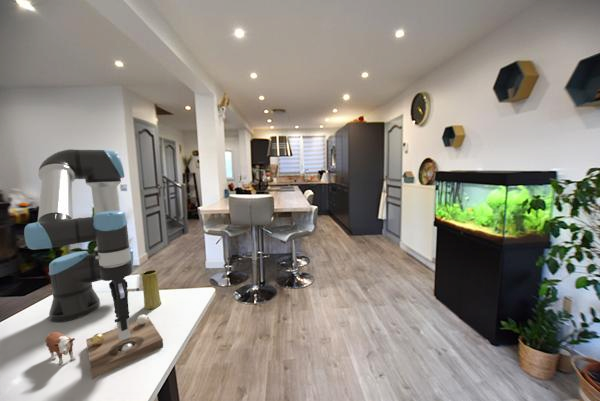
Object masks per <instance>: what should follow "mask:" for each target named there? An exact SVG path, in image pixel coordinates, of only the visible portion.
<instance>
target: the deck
mask: <svg viewBox="0 0 600 401" xmlns="http://www.w3.org/2000/svg"><path fill="white" fill-rule="evenodd" d="M129 328H130V336H131V337H130V338H127V339H125V340H122V341H119V335H118V327H115V328H113V329H111V330H108V331H105V332H103V333H101V334H103V335H104V341H103V342H102V343H101V344H100V345H97V346H94V345H92V344H91V339H92V337H89V338H86V341H85V342H86V348H87V354H88V361H89V368H90V373H91V379H92V380H94V379H97V378H99V377H100V376H103V375H104V374H107V373H109V372H112V371H114V370H115V369H118V368H120V367H122V366H125V365H126V364H128V363H130V362H133V361H135V360H137V359H140V358H141V357H143V356H145V355H148V354H150V353H152V352H154V351H157V350H159V349H161V348H163V347H164V341H163V340H164V339H163V338H162V335H160V332H159V331H158V330H157V329H156V327H155V325H154V323H153V322H152V320H151V319H150V317H149V316H147V322H146V323H145V324H143V325H139V324H137V322H136V320H135V321H132V322H129ZM128 343H131V344H132V345H133V347H132V348H131V349H128V350H126V351H121V348H122V347H123V346H124V345H125V344H128Z"/></svg>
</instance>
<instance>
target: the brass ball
mask: <svg viewBox="0 0 600 401" xmlns="http://www.w3.org/2000/svg"><path fill="white" fill-rule="evenodd" d="M91 338H92V339H91V344H92V345H94V346H97V345H100V344H101V343H102V342H103V341H104V335H103V334H102V333H96V334H94V335H93V336H92V337H91Z"/></svg>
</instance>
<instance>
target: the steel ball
mask: <svg viewBox="0 0 600 401" xmlns="http://www.w3.org/2000/svg"><path fill="white" fill-rule="evenodd" d="M132 347H133V345H132V344H131V343H128V344H125V345H124V346H123V347H122V348H121V351H126V350H128V349H131V348H132Z"/></svg>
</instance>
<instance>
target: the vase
mask: <svg viewBox="0 0 600 401" xmlns="http://www.w3.org/2000/svg"><path fill="white" fill-rule="evenodd" d="M141 279H142V287H143V288H142V290H143V304H144V305H143V308H144V309H145V310H153V309H155V308H158V307H160V306H161V305H162V301H161V296H160V287H159V279H158V270H156V269H151V270H146V271H144V272H142V274H141ZM160 304H161V305H160ZM159 305H160V306H159Z"/></svg>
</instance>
